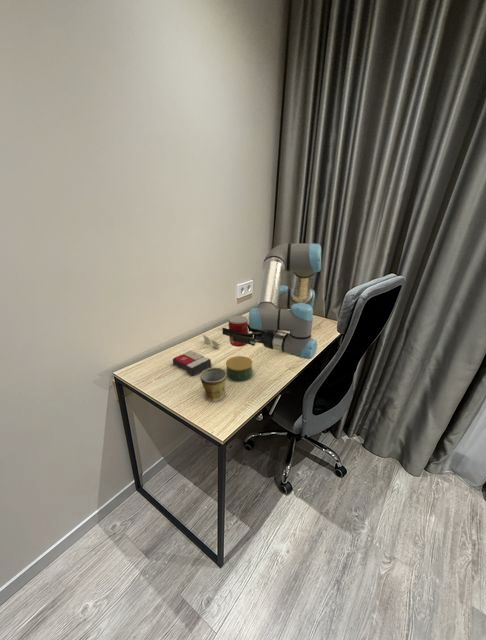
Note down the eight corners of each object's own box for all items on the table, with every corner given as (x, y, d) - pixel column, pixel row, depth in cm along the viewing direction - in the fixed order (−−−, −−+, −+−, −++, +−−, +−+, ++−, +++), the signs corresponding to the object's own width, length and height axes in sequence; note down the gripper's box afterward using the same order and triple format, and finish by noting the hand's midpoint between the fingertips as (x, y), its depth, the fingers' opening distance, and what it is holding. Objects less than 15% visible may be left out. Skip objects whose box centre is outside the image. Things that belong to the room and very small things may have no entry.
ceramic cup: (230, 401, 108) (229, 379, 103) (204, 406, 105) (201, 384, 100) (223, 382, 119) (221, 362, 114) (199, 386, 116) (197, 366, 112)
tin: (236, 365, 131) (236, 353, 128) (257, 372, 125) (257, 360, 123) (221, 376, 123) (220, 364, 120) (242, 384, 117) (242, 372, 114)
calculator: (190, 349, 138) (210, 357, 128) (192, 357, 140) (211, 366, 130) (171, 357, 131) (191, 367, 121) (173, 365, 133) (192, 375, 123)
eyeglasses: (202, 340, 155) (202, 334, 153) (228, 331, 165) (228, 325, 163) (219, 350, 144) (218, 343, 142) (245, 339, 154) (245, 333, 153)
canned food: (246, 347, 116) (245, 322, 111) (227, 346, 117) (226, 321, 112) (249, 339, 122) (249, 315, 117) (231, 338, 124) (230, 314, 119)
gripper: (261, 359, 102) (214, 344, 114) (288, 339, 117) (243, 327, 129) (262, 341, 99) (212, 327, 110) (289, 322, 113) (243, 312, 125)
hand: (229, 327), depth 119 cm, fingers closed on canned food, 8 cm apart
